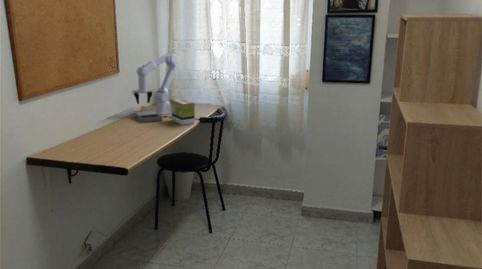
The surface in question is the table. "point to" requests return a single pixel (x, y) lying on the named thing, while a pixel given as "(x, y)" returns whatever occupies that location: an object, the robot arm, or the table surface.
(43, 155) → the table surface
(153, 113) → the carton lid
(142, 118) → the carton
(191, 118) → the tea box
